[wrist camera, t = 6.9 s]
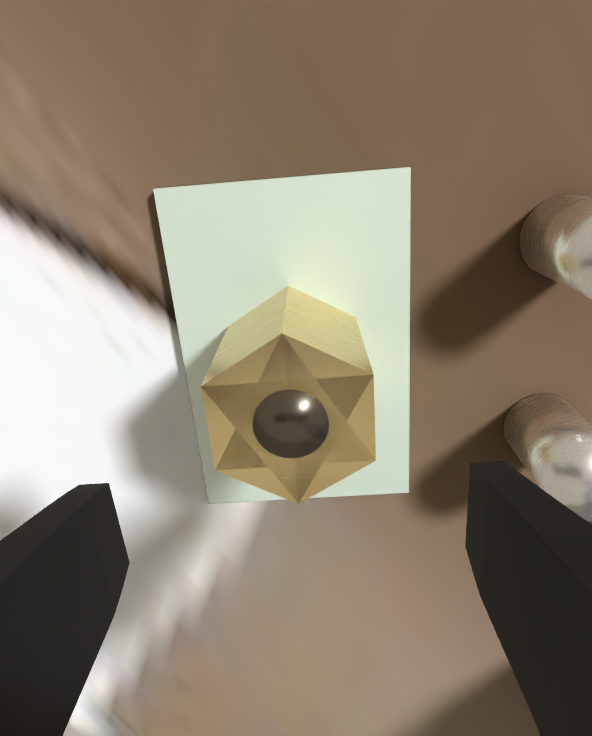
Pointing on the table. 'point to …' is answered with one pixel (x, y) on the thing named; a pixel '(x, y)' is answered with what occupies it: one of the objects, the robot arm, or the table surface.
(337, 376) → the brass nut
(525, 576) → the robot arm
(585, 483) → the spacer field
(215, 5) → the table surface
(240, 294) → the pad
